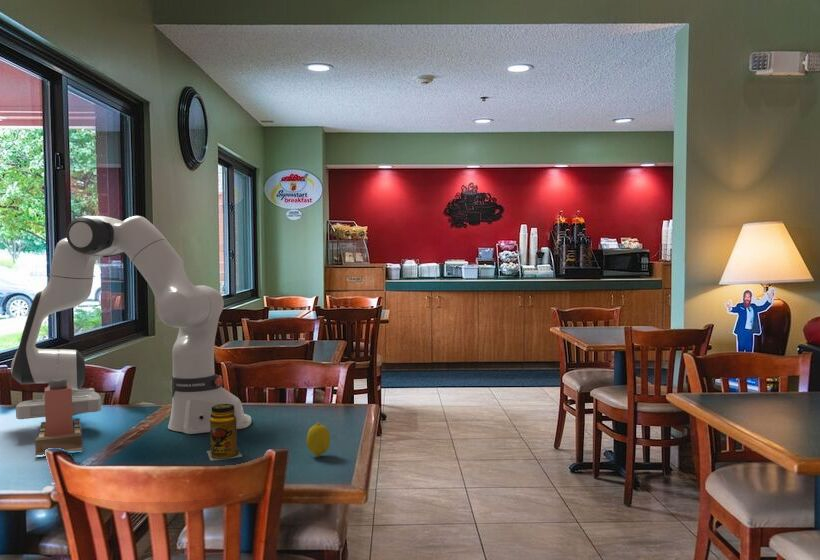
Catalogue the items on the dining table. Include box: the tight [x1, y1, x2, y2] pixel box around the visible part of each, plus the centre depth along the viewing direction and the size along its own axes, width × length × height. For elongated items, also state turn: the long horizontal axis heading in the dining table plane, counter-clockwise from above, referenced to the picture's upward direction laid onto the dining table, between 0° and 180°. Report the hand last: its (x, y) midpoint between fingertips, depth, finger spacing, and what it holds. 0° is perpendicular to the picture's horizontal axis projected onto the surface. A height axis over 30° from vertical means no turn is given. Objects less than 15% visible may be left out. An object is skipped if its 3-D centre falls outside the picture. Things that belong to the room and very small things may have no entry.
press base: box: [34, 418, 83, 456], centre depth 175 cm, size 24×10×4 cm, turn 26°
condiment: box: [206, 404, 243, 462], centre depth 163 cm, size 7×8×12 cm
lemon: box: [306, 422, 331, 458], centre depth 161 cm, size 6×6×8 cm
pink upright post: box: [44, 379, 74, 436], centre depth 173 cm, size 5×6×15 cm
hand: (59, 412), depth 176 cm, fingers closed
